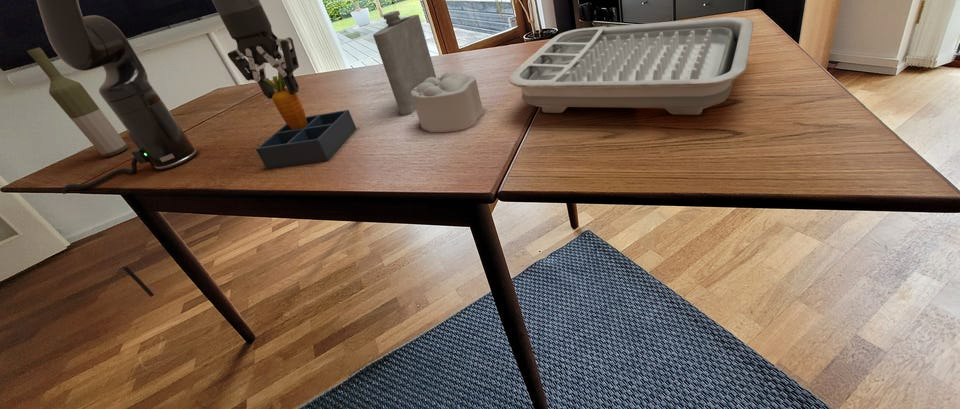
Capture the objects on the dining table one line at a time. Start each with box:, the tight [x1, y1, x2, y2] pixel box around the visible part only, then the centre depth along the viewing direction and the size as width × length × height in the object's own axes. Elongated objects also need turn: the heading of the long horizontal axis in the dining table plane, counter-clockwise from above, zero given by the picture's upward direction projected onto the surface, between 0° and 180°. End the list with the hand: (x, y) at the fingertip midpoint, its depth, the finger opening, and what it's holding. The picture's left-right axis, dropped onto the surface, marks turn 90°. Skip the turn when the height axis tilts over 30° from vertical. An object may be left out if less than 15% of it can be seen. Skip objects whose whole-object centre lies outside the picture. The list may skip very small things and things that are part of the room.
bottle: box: [26, 47, 128, 158], centre depth 112 cm, size 7×7×30 cm
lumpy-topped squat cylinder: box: [411, 71, 484, 133], centre depth 81 cm, size 10×13×9 cm
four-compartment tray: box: [255, 109, 357, 170], centre depth 86 cm, size 14×14×5 cm
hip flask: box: [372, 10, 437, 116], centre depth 93 cm, size 16×4×20 cm, turn 156°
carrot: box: [263, 71, 307, 130], centre depth 87 cm, size 5×5×15 cm
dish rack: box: [508, 16, 754, 116], centre depth 74 cm, size 32×37×8 cm
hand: (283, 94), depth 85 cm, fingers closed on carrot, 5 cm apart
